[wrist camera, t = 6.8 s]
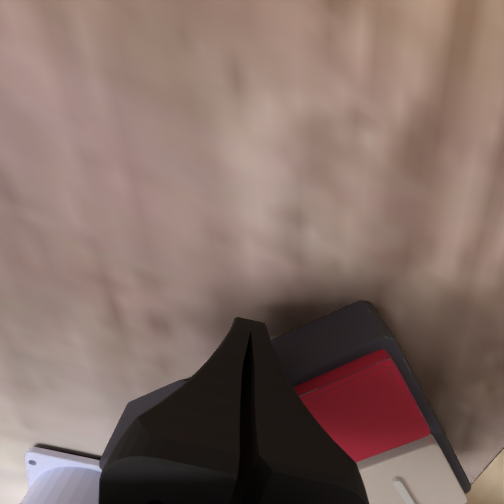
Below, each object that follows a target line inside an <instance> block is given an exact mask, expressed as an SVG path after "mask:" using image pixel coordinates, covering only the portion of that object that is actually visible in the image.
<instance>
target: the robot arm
mask: <svg viewBox="0 0 504 504" xmlns="http://www.w3.org/2000/svg"><path fill="white" fill-rule="evenodd" d="M25 461H26V470H27V478H28V486H29V491H28V492H27V494H26V495H25V496H24V498H23V499H22V501H21V502H20V504H369V500H368V496H367V493H366V489H365V486H364V483H363V480H362V477H361V474H360V472H359V469H358V466H357V463H356V462H355V461H354V460H353V459H352V458H351V457H350V456H349V455H348V454H347V453H346V452H345V451H344V450H343V449H342V448H341V447H340V446H339V445H338V444H337V443H336V442H335V441H334V440H333V439H332V438H331V437H330V436H329V434H328V433H327V432H326V431H325V430H324V429H323V428H322V427H321V425H320V424H319V423H318V422H317V420H316V419H315V418H314V417H313V415H312V414H311V413H310V411H309V410H308V409H307V407H306V406H305V405H304V403H303V402H302V400H301V399H300V397H299V396H298V394H297V393H296V391H295V389H294V388H293V386H292V385H291V383H290V381H289V379H288V377H287V376H286V374H285V372H284V370H283V368H282V366H281V364H280V361H279V359H278V357H277V355H276V352H275V350H274V348H273V345H272V342H271V340H270V337H269V334H268V331H267V327H266V325H265V323H262V322H257V321H253V320H249V319H244V318H240V317H237V318H235V319H234V322H233V325H232V327H231V329H230V331H229V332H228V334H227V336H226V337H225V339H224V340H223V342H222V343H221V345H220V346H219V347H218V348H217V350H216V351H215V352H214V353H213V355H212V356H211V357H210V358H209V359H208V361H207V362H206V363H205V364H204V365H203V366H202V367H201V368H200V369H199V370H198V371H197V372H196V373H195V374H194V375H193V376H192V377H191V378H190V379H189V380H187V381H186V382H185V383H184V384H183V385H182V386H180V387H179V388H178V389H177V390H175V391H174V392H173V393H171V394H170V395H169V396H167V397H166V398H165V399H163V400H162V401H161V402H159V403H158V404H156V405H155V406H153V407H151V408H150V409H148V410H147V411H145V412H143V413H142V414H140V415H139V416H137V417H136V418H135V419H134V421H133V422H132V423H131V424H130V426H129V427H128V428H127V430H126V431H125V432H124V434H123V435H122V436H121V438H120V439H119V441H118V442H117V444H116V445H115V447H114V449H113V450H112V452H111V454H110V456H109V458H108V460H107V462H106V464H105V466H104V468H103V470H101V469H100V467H99V461H100V460H96V459H91V458H86V457H82V456H77V455H72V454H67V453H63V452H58V451H53V450H48V449H43V448H39V447H31V448H29V449H28V451H27V452H26V453H25Z"/></svg>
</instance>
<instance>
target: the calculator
mask: <svg viewBox="0 0 504 504" xmlns="http://www.w3.org/2000/svg"><path fill="white" fill-rule="evenodd" d="M271 342H272V345H273V348H274V350H275V352H276V355H277V357H278V359H279V361H280V364H281V366H282V368H283V370H284V372H285V374H286V376H287V377H288V379H289V381H290V383H291V385H292V386H293V388H294V389H295V391H296V393H297V394H298V396H299V397H300V399H301V400H302V402H303V403H304V405H305V406H306V407H307V409H308V410H309V411H310V413H311V414H312V415H313V417H314V418H315V419H316V420H317V422H318V423H319V424H320V425H321V427H322V428H323V429H324V430H325V431H326V432H327V433H328V434H329V436H330V437H331V438H332V439H333V440H334V441H335V442H336V443H337V444H338V445H339V446H340V447H341V448H342V449H343V450H344V451H345V452H346V453H347V454H348V455H349V456H350V457H351V458H352V459H353V460H354V461H355V462H356V463H357V466H358V469H359V472H360V474H361V477H362V480H363V483H364V486H365V489H366V493H367V496H368V500H369V504H465V503H466V502H467V497H466V495H465V494H467V493H468V492H469V491H470V490H471V484H470V482H469V480H468V478H467V476H466V474H465V472H464V470H463V468H462V466H461V465H460V463H459V461H458V459H457V457H456V455H455V453H454V451H453V449H452V447H451V445H450V443H449V441H448V439H447V437H446V435H445V433H444V431H443V429H442V427H441V425H440V423H439V422H438V420H437V418H436V416H435V414H434V412H433V410H432V408H431V406H430V404H429V402H428V400H427V398H426V396H425V394H424V392H423V390H422V388H421V386H420V384H419V382H418V381H417V379H416V377H415V375H414V373H413V371H412V369H411V367H410V365H409V363H408V361H407V359H406V357H405V355H404V353H403V351H402V349H401V347H400V345H399V343H398V342H397V340H396V338H395V337H394V335H393V334H392V332H391V331H390V329H389V328H388V327H387V325H386V324H385V322H384V321H383V319H382V318H381V317H380V315H379V314H378V312H377V311H376V310H375V308H374V307H373V306H372V304H371V303H370V302H368V301H359V302H356V303H353V304H351V305H349V306H347V307H344V308H342V309H340V310H338V311H335V312H333V313H331V314H328V315H326V316H324V317H322V318H319V319H317V320H315V321H313V322H310V323H308V324H306V325H304V326H301V327H299V328H297V329H295V330H292V331H290V332H288V333H286V334H283V335H281V336H279V337H277V338H275V339H273V340H271ZM185 382H186V381H185V380H179V381H176V382H174V383H172V384H169V385H167V386H165V387H162V388H160V389H158V390H156V391H153V392H151V393H149V394H147V395H144V396H142V397H140V398H137V399H135V400H133V401H131V402H129V403H128V404H127V406H126V408H125V410H124V412H123V414H122V416H121V418H120V420H119V422H118V424H117V426H116V428H115V430H114V432H113V434H112V436H111V438H110V440H109V442H108V444H107V447H106V449H105V451H104V453H103V455H102V457H101V459H100V461H99V467H100V469H101V470H103V468H104V466H105V464H106V462H107V460H108V458H109V456H110V454H111V452H112V450H113V449H114V447H115V445H116V444H117V442H118V441H119V439H120V438H121V436H122V435H123V434H124V432H125V431H126V430H127V428H128V427H129V426H130V424H131V423H132V422H133V421H134V419H135V418H136V417H137V416H139V415H140V414H142V413H143V412H145V411H147V410H148V409H150V408H151V407H153V406H155V405H156V404H158V403H159V402H161V401H162V400H163V399H165V398H166V397H167V396H169V395H170V394H171V393H173V392H174V391H175V390H177V389H178V388H179V387H180V386H182V385H183V384H184V383H185Z"/></svg>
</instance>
